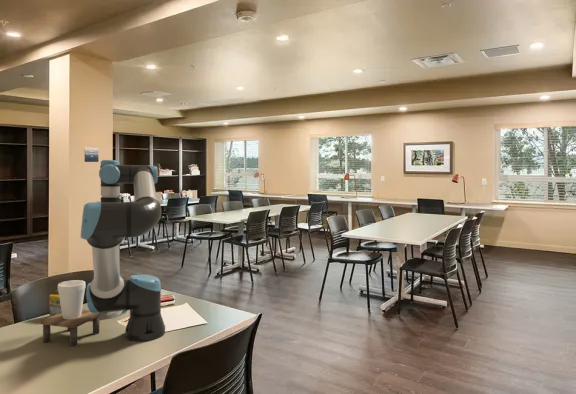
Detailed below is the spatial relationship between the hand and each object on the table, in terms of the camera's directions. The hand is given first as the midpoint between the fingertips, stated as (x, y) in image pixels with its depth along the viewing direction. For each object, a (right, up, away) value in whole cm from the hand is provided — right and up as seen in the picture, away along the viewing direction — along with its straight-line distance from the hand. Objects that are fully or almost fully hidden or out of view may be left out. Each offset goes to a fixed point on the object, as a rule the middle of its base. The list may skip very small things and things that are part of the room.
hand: (110, 246), depth 177 cm
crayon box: (-25, -32, +6) cm, 41 cm away
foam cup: (-8, -26, -16) cm, 31 cm away
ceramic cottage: (-6, -32, +13) cm, 35 cm away
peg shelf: (-8, -34, -16) cm, 38 cm away
